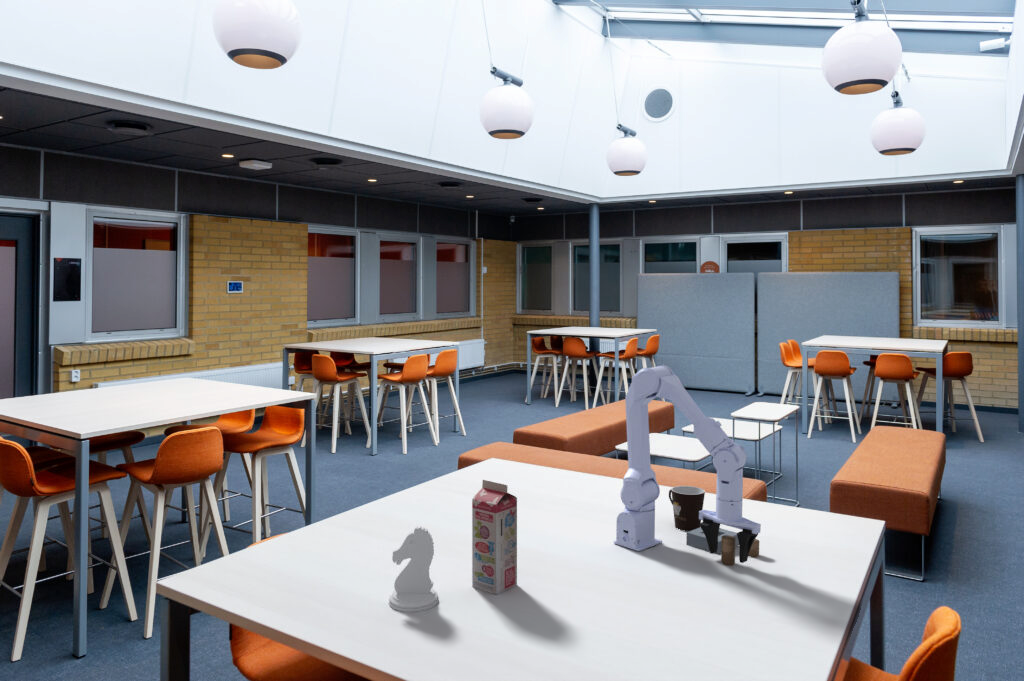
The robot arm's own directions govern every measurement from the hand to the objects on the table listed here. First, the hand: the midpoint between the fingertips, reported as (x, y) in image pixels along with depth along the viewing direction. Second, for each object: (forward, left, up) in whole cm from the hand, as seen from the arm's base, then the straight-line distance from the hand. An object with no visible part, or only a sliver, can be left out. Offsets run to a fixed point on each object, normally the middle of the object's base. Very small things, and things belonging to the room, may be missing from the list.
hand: (728, 557), depth 162 cm
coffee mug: (+16, +22, -2) cm, 27 cm away
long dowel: (0, 0, -1) cm, 1 cm away
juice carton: (-48, +26, -2) cm, 55 cm away
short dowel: (+9, -1, -2) cm, 9 cm away
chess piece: (-65, +31, -2) cm, 72 cm away
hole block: (+8, +9, -1) cm, 12 cm away
